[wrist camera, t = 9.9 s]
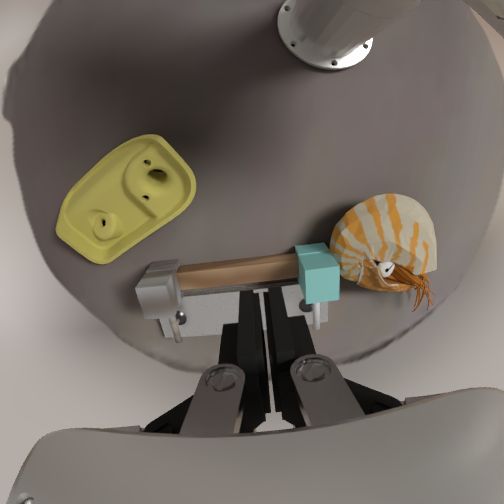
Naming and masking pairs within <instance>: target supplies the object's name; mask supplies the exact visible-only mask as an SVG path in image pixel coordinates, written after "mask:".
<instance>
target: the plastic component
mask: <svg viewBox="0 0 504 504" xmlns="http://www.w3.org/2000/svg"><path fill="white" fill-rule="evenodd" d="M144 160H147V162H146V164H145V163H144ZM153 169H160V170H163V172H155V171H153ZM195 192H196V180H195V176H194V174H193V172H192V170H191V169H190V167H189V166H188V165H187V164H186V162H185V161H184V160H183V159H182V158H181V157H180V156H179V155H178V154H177V153H176V151H175V150H174V149H173V148H172V147H171V146H170V145H169V144H168V143H167V141H165V140H164V139H163V138H162V137H161V136H159V135H154V134H147V135H142V136H139V137H135V138H133V139H131V140H129V141H127V142H125V143H123V144H121V145H120V146H118V147H117V148H115V149H114V150H112V151H111V152H110V153H108V154H107V155H106V156H105V157H104V158H102V159H101V160H100V161H99V162H98V163H97V164H96V165H95V166H94V167H93V168H92V169H91V170H90V171H89V172H87V173H86V174H85V175H84V176H83V177H82V178H81V179H80V180H79V181H78V182H77V183H76V184H75V185H74V186H73V187H72V188H71V190H70V191H69V192H68V194H67V195H66V197H65V199H64V201H63V203H62V206H61V209H60V213H59V217H58V221H57V225H56V233H57V235H58V236H59V238H61V239H62V240H63V241H64V242H66V243H67V244H68V245H70V246H71V247H72V248H73V249H75V250H76V251H77V252H79V253H80V254H81V255H83V256H84V257H85V258H87V259H88V260H90V261H91V262H94V263H97V264H107V263H109V262H111V261H113V260H114V259H116V258H117V257H118V256H120V255H121V254H123V253H124V252H125V251H127V250H128V249H130V248H131V247H132V246H134V245H135V244H137V243H138V242H140V241H141V240H143V239H144V238H146V237H147V236H148V235H150V234H151V233H153V232H154V231H156V230H157V229H159V228H160V227H162V226H163V225H165V224H166V223H168V222H169V221H171V220H172V219H173V218H175V217H176V216H177V215H179V214H180V213H181V212H182V211H184V210H185V209H186V208H187V207H188V206H189V204H190V203H191V201H192V200H193V198H194V195H195ZM144 195H147V196H148V197H149V198H147V199H146V198H145V197H143V196H144ZM103 219H104V220H105V221H106V224H105V226H103V224H102V221H103Z"/></svg>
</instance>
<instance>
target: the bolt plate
mask: <svg viewBox="0 0 504 504" xmlns="http://www.w3.org/2000/svg"><path fill="white" fill-rule="evenodd" d="M280 286H281V288H282V292H283V297H284V301H285V306H286V311H287V315H288V317H292V316H300V315H304V316H305V318H306V322H307V325H308V324H313V310H312V307H311V305H312V304H306V302H305V299H304V296H303V293H302V290H301V288H300V285H299V282H298V281H290V282H282V283H273V284H264V285H256V286H247V287H237V288H228V289H218V290H208V291H198V292H187V293H184V296H183V298H182V300H181V302H180V305H179V307H178V310H177V313H176V315H175V317H176V318H179V319H180V321H179V324H178V328H179V331H180V334H181V337H188V336H203V335H217V334H222V328H223V324H228V323H238V315H239V293H240V291H245V290H253V292H254V293H259V298H260V306H261V314H262V323H263V330H267V328H266V318H265V308H264V297H263V292H268V288H272V287H280ZM322 322H328V301H327V302H320V323H322ZM160 323H161V326H162V329H163V332H164V335H165V338H169V337H174V335H173V332H172V328H171V325H170V322H169V319H168V318H161V319H160Z"/></svg>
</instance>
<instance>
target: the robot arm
mask: <svg viewBox="0 0 504 504" xmlns="http://www.w3.org/2000/svg"><path fill="white" fill-rule="evenodd" d="M421 1H422V0H286V1H285V2H284V4H283V5H282V7H281V9H280V11H279V14H278V19H277V27H278V33H279V35H280V37H281V40H282V41H283V43H284V45H285V46H286V47H287V49H288V50H289V51H290V52H291V53H292V54H293V55H295V56H296V57H297V58H298V59H300V60H302V61H303V62H305V63H307V64H309V65H311V66H314V67H317V68H321V69H326V70H341V69H346V68H349V67H352V66H354V65H356V64H358V63H359V62H360V61H362V60H363V59H364V58H365V57H366V56H367V55H368V53H369V51H370V49H371V46H372V42H373V37H374V36H376V35H377V34H378V33H380V32H381V31H383V30H384V29H385V28H387V27H388V26H390V25H391V24H393V23H394V22H396V21H397V20H398V19H400V18H401V17H403V16H404V15H406V14H407V13H409V12H410V11H412V10H413V9H414V8H416V7H417V6H418V5H419V4H420V3H421ZM463 1H464V2H465V3H467V4H468V5H469V6H470V7H471V8H472V9H473V10H475V11H476V12H477V13H478V14H479V15H480V16H481V17H482V18H483V19H484V20H485V21H486V22H487V23H489V24H490V25H491V26H492V27H493V28H494V29H495V30H496V31H497V32H498V33H499V34H500V35H501V36H502V37H503V38H504V0H463ZM285 10H288V11H285ZM292 44H293V45H294V46H295V47H292V46H291V45H292ZM363 47H364V48H365V49H364V48H363ZM331 63H333V64H334V66H333V65H332V64H331ZM263 297H264V308H265V318H266V328H267V339H268V349H269V359H270V367H271V376H272V385H273V393H274V401H275V411H276V412H282V420H286V421H287V422H289V423H291V424H293V429H285V430H275V431H265V432H256V428H257V427H258V426H259V425H260V424H261V423H262V422H264V421H266V417H265V413H271V408H270V395H269V382H268V370H267V358H266V347H265V339H264V331H263V323H262V314H261V306H260V298H259V293H254V292H253V290H245V291H240V293H239V315H238V323H228V324H223V328H222V337H221V345H220V354H219V362H218V365H215V366H212V367H211V368H209V369H207V370H206V371H205V372H204V373H203V374H202V376H201V378H200V380H199V383H198V386H197V388H196V391H195V394H194V395H192V396H191V397H190V398H188V399H186V400H185V401H183V402H182V403H180V404H179V405H177V406H176V407H174V408H173V409H171V410H169V411H168V412H166V413H165V414H163V415H161V416H160V417H159V418H157V419H155V420H154V421H152V422H151V423H149V424H148V425H147V426H146V427H145V428H141V427H140V426H139V425H138V426H129V427H119V428H104V429H100V428H71V429H64V430H58V431H55V432H51V433H49V434H46V435H45V436H43V437H42V438H41V439H39V440H38V442H37V443H36V444H35V445H34V447H33V448H32V450H31V451H30V453H29V454H28V456H27V458H26V460H25V461H24V463H23V465H22V467H21V469H20V471H19V473H18V475H17V478H16V480H15V482H14V484H13V487H12V489H11V492H10V495H9V497H8V500H7V503H6V504H504V391H503V390H500V389H497V388H490V387H479V388H467V389H461V390H456V391H452V392H448V393H441V394H435V395H427V396H419V397H409V398H405V401H399V400H397V399H395V398H394V397H392V396H389V395H386V394H383V393H381V392H378V391H376V390H373V389H370V388H368V387H365V386H362V385H360V384H357V383H355V382H353V381H350V380H348V379H345V378H343V376H342V375H341V373H340V371H339V370H338V368H337V366H336V365H335V363H334V362H333V361H332V360H331V359H330V358H328V357H327V356H323V355H320V354H316V352H315V349H314V345H313V342H312V338H311V335H310V332H309V328H308V325H307V322H306V318H305V316H304V315H300V316H292V317H288V315H287V311H286V306H285V301H284V297H283V292H282V288H281V286H280V287H272V288H268V292H263Z"/></svg>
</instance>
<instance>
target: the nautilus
mask: <svg viewBox="0 0 504 504" xmlns="http://www.w3.org/2000/svg"><path fill="white" fill-rule="evenodd" d="M330 254H332V256H333V257H334V259H335V260H336V261H337V263H338V264H339V266H340V275H341V276H342V277H343V278H345V279H347V280H351V281H354V282H355V283H356V284H357V285H359V286H361V287H363V288H367V289H371V290H377V291H390V292H397V291H402V292H403V291H407V292H408V291H410V290H411V289H412V288H414V287H415V286H416V287H417V288H415V289H417V297H416V302H417V298H418V292H419V300H418V305H417V307H418V306H419V304H420V303H421V301H422V299H423V296H424V294H426V296H427V293H428V296H427V298H428V307H429V301H430V302H431V300H430V299H429V292H428V290H429V289H430V288H429V289H428V288H427V289H428V290H427V289H426V288H425V287H427V286H426V284H425V282H424V280H426V281H427V282H428V277H427V274H426V273H427V272H430V271H434V270H437V248H436V238H435V233H434V226H433V222H432V221H431V219H430V217H429V215H428V213H427V211H426V210H425V209H424V208H423V207H422V206H421V205H420V204H419V203H418V202H417V201H416V200H414V199H412V198H410V197H407V196H403V195H399V194H383V195H377V196H374V197H372V198H370V199H368V200H366V201H363V202H361V203H359V204H357V205H356V206H354V207H353V208H352V209H350V210H349V211H348V212H346V214H345V215H344V216H343V217H342V219H341V220H340V221H339V222H338V223H337V224H336V225H335V227H334V230H333V233H332V236H331V240H330ZM418 285H419V286H418ZM428 287H429V282H428ZM420 288H421V289H422V290H423V292H422V297H421V299H420V295H421V294H420ZM415 289H414V290H415ZM426 291H427V293H426ZM429 291H431V290H429ZM402 292H401V293H402ZM431 292H432V291H431ZM432 294H433V292H432ZM433 295H434V294H433ZM434 296H435V295H434ZM419 301H420V302H419ZM416 302H415V305H416ZM431 303H432V302H431ZM415 305H414V307H415ZM432 305H433V303H432ZM417 307H416V308H417ZM416 308H415V309H414V310H413V311H415V310H416ZM427 310H428V308H427ZM413 311H412V312H413Z"/></svg>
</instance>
